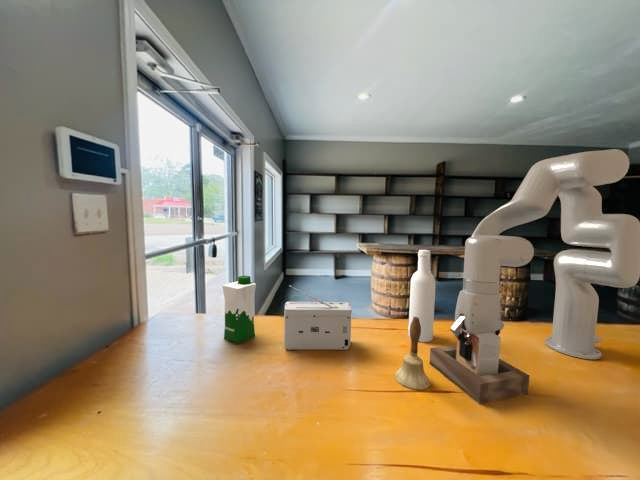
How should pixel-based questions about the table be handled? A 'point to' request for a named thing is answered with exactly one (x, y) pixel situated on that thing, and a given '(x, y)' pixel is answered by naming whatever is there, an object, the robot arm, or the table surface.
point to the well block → (480, 377)
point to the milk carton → (239, 309)
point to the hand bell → (413, 363)
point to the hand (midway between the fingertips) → (476, 355)
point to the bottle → (423, 297)
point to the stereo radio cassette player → (317, 325)
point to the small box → (482, 354)
